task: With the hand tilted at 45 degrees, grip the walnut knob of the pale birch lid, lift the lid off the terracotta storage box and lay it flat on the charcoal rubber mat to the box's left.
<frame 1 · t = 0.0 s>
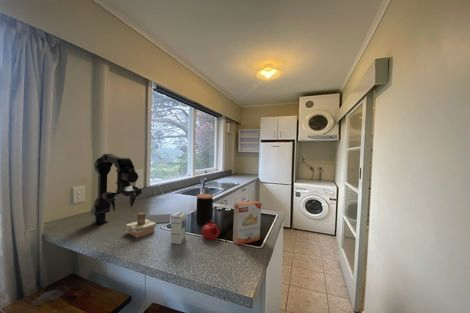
hand: (122, 208, 108), 15 cm above the countertop, tool pointing down, fingers open, 9 cm apart
coffee jar: (204, 222, 131), on the countertop
cracker box: (246, 241, 106), on the countertop
mat: (157, 219, 134), on the countertop
storage box: (141, 232, 113), on the countertop
syrup box: (178, 241, 103), on the countertop
lid: (141, 225, 113), point 4 cm above the countertop, touching storage box
pomegranate: (210, 237, 109), on the countertop
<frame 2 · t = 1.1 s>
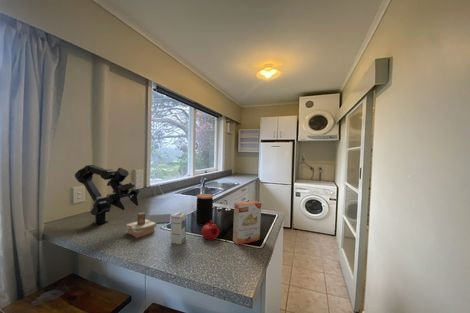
hand: (131, 207, 115), 13 cm above the countertop, tool tilted 45°, fingers open, 9 cm apart
nothing on the countertop moved.
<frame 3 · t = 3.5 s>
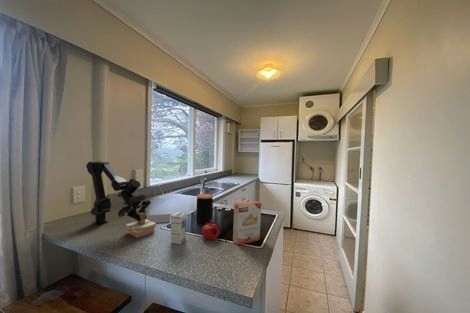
hand: (143, 219, 112), 8 cm above the countertop, tool tilted 45°, fingers closed on lid, 4 cm apart
lid: (141, 225, 113), point 4 cm above the countertop, touching gripper, storage box
everything else where it was.
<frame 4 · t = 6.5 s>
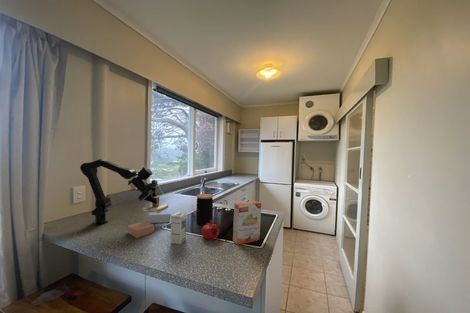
hand: (157, 202, 127), 13 cm above the countertop, tool tilted 45°, fingers closed on lid, 3 cm apart
lid: (155, 207, 127), point 10 cm above the countertop, touching gripper
everything else where it was.
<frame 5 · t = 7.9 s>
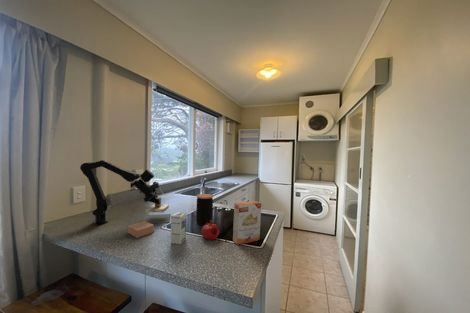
hand: (160, 202, 134), 11 cm above the countertop, tool tilted 45°, fingers closed on lid, 3 cm apart
lid: (157, 208, 133), point 8 cm above the countertop, touching gripper
everything else where it was.
when the fingers open (6 cm above the countertop, at t = 9.1 s): lid drops 1 cm, resting on mat.
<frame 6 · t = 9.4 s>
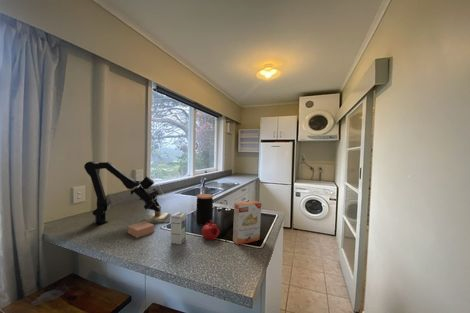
hand: (160, 209, 134), 7 cm above the countertop, tool tilted 45°, fingers open, 6 cm apart
lid: (157, 216, 134), point 2 cm above the countertop, touching mat
everything else where it was.
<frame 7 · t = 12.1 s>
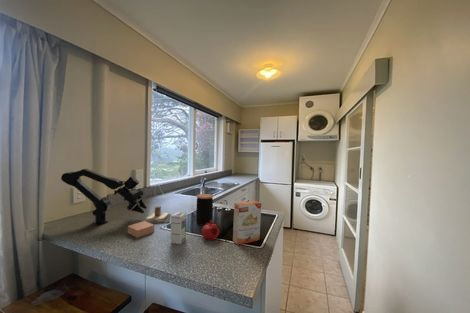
hand: (144, 210, 131), 7 cm above the countertop, tool tilted 45°, fingers open, 9 cm apart
nothing on the countertop moved.
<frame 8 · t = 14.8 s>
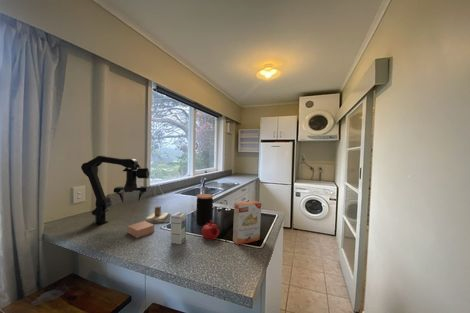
hand: (131, 202, 126), 13 cm above the countertop, tool pointing down, fingers open, 9 cm apart
nothing on the countertop moved.
at the end: lid inside the target area on the mat (0.0 cm from its centre), point 1.6 cm above the mat's base; lid tilted 0°; the gripper is holding nothing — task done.
